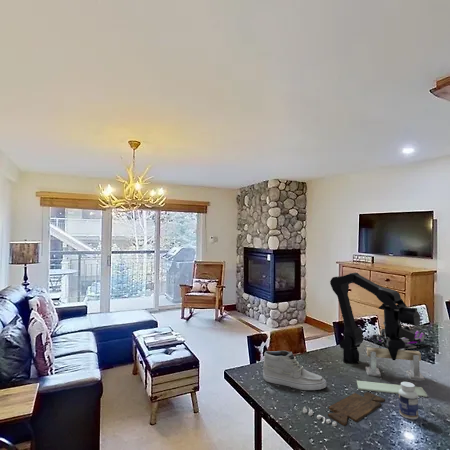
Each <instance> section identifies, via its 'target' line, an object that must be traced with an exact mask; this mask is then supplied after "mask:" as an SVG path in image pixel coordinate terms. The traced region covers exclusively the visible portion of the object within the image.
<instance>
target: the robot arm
mask: <svg viewBox="0 0 450 450" xmlns="http://www.w3.org/2000/svg"><path fill="white" fill-rule="evenodd" d="M329 283H330V286H331V289H332V291H333V293H334V294H335V295H336V296H337V299H338V300H337V301H338V304H339V308H340V311H341V312H340V313H341V316H342V317H341V318H342V320H343V325H344V329H343V339H342V340H341V341H340V342H339V348H340V349H342V361H343V363H346V364H357V365H358V364H359V362H360V352H359V349H358V348H360V347H361V344H362V343H363V342H364V338H365V335H364V334H363V329H362V328H361V327H360V328H359V327H358V326H357V324H356V321H355V317H354V313H353V310H352V309H353V308H352V305H351V302H350V299H349V294H348V293H349V290H350V286H349V285H350V284H352V283H353V284H355V285H357V286H358V287H361V288H362V289H365V291H367V292H369V293H370V294H373V295H374V296H376V298H377V300H379V302H380V303H382V304H381V305H380V306H379V307H378V310H383V318H384V319H383V325H384V328H382V329H381V330H380V336H381V337H383V340H384V343H385V345H386V347H387V348H386V347H385V348H386V349H388V350H389V353H390V355H391V358H392V359H391V360H392V361H396V360H397V359H396V356H397V352H398V349H399V348H403V349H405V348H407V346H406V344H405V342H404V341H403V340H402V339H401V338H402V337H404V338H407V339H409V340H411V341H414V338H415V335H416V334H415V333H416V332H414V331H413V330H411V327H410V326H408V325H411V326H416V327H417V326H419V325H420V322H421V315H420V313H419V311H418V308H417V307H410V306H409V307H408V306H407V304H406V303H405V301H404V300H403V299H402V297H401V294H400V293H399V291H397V290H394V289H391V288H388V287H384V286H381V285H379V284H377V283H375V282H373V281H372V280H370V279H368V278H366V277H364V276H363V275H361V274H359V273H357V272H350V273H348V274H346V275H340V276H334V277H332V278H331V279H330V281H329ZM400 323H401V324H405V325H404V326H402V325H401V324H400Z"/></svg>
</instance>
